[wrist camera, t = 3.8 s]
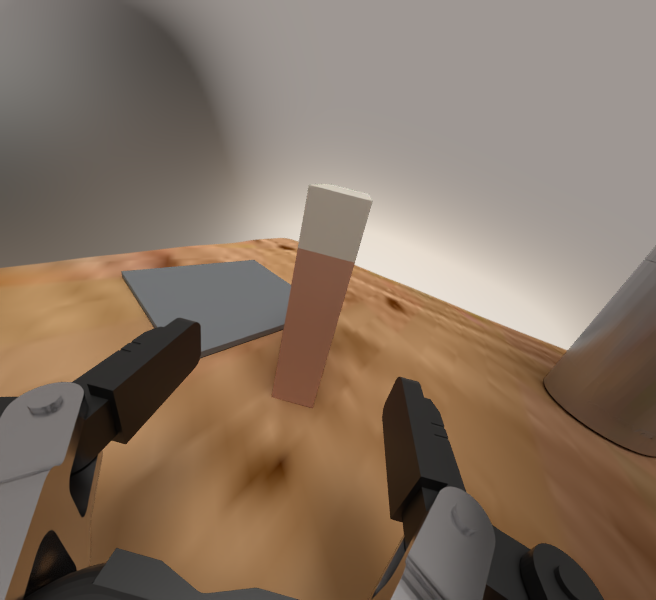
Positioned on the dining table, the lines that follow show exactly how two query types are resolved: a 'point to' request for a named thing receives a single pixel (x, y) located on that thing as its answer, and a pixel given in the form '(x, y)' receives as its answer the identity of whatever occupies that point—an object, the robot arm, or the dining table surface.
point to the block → (318, 287)
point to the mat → (214, 300)
